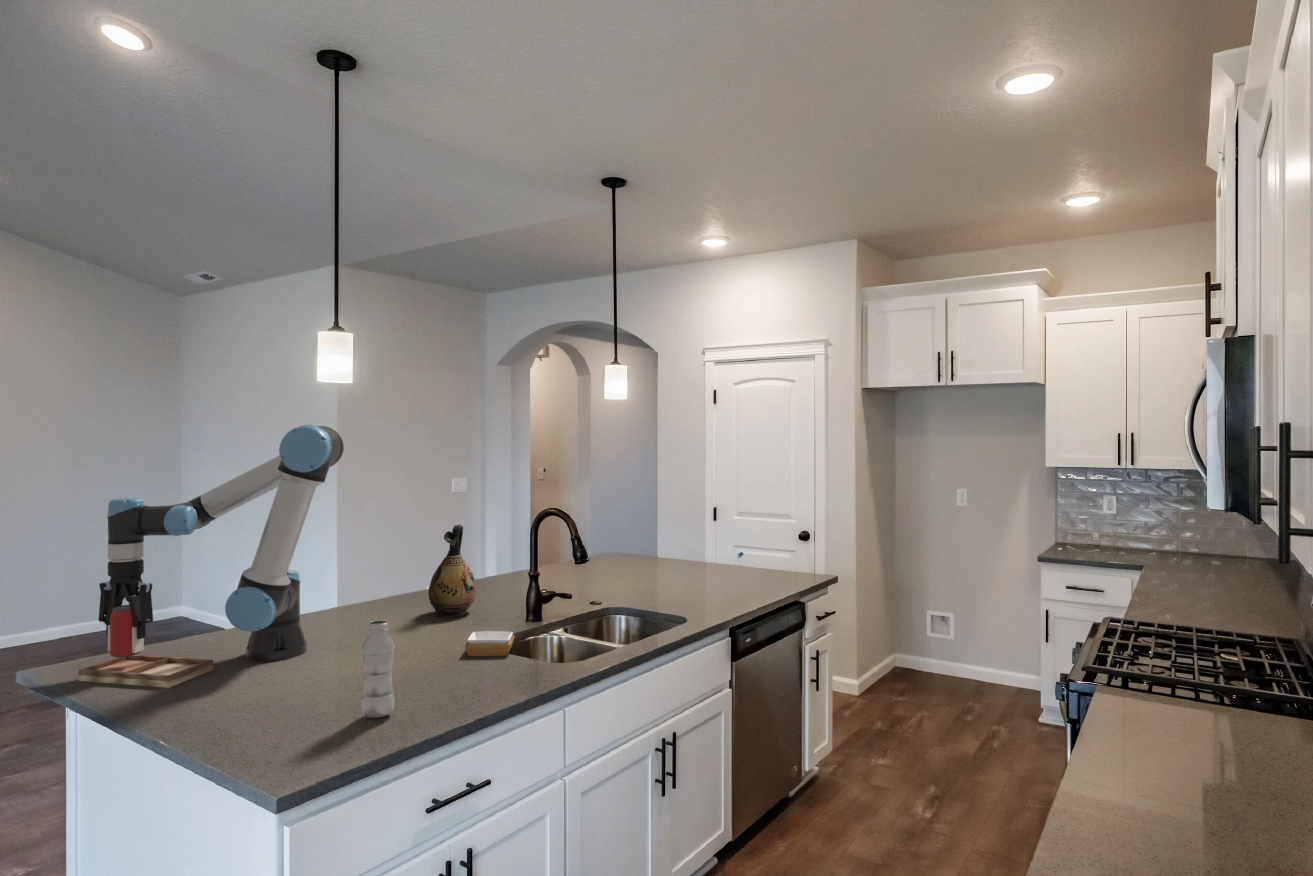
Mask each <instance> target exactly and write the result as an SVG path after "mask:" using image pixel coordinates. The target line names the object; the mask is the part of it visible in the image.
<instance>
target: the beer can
mask: <svg viewBox="0 0 1313 876" xmlns="http://www.w3.org/2000/svg"><path fill="white" fill-rule="evenodd" d="M140 621H141V619H140ZM133 625H135V623H134V620H133V616H132V613H131V609H130V606H129V604H124V605H123V604H122V605H121V606H117V607H114V608H113V611H112V613H111V616H110V651H109V655H110V656H111V657H113V658H118V657H128V656H133V655H139V654H140V653H141V652H142V651H140V652H136V653H132V627H133Z"/></svg>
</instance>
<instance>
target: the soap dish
mask: <svg viewBox="0 0 1313 876" xmlns="http://www.w3.org/2000/svg"><path fill="white" fill-rule="evenodd" d="M515 638H516V635H514V632H512V631H473V632H471V633H470V636H469V637H468V638H467V641H466V642H465V643H464V645H463V647H464V648H465V650H466V653H467V655H468V657H491V656H492V657H495V656H496V657H499V656H500V657H501V656H502V657H503V656H504V657H505V656H508V654H509V653H510V650H511V649H512V646H513V643H514V642H515V641H514V640H515Z"/></svg>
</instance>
